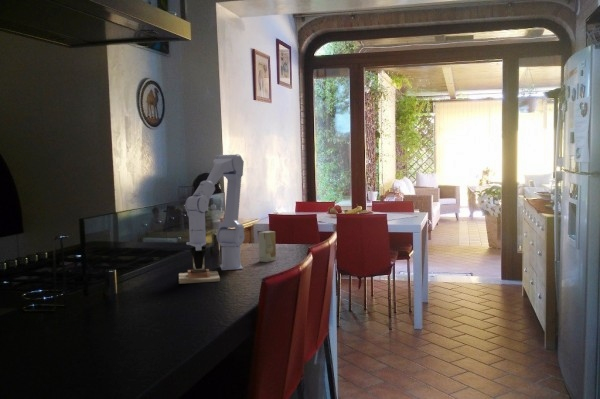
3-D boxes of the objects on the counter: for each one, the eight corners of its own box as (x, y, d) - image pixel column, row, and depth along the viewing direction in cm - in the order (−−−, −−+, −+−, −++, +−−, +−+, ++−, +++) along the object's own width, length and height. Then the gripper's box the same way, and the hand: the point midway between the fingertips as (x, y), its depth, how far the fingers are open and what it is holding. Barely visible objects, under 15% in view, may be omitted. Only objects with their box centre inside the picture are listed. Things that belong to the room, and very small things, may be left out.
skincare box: (266, 262, 238) (265, 232, 237) (258, 261, 240) (257, 232, 240) (276, 260, 243) (275, 231, 242) (268, 259, 246) (267, 230, 245)
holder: (178, 275, 214) (178, 269, 214) (217, 273, 217) (217, 266, 217) (179, 283, 200) (178, 276, 200) (220, 281, 203) (219, 274, 203)
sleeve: (193, 272, 210) (192, 252, 210) (204, 271, 211) (204, 252, 210) (193, 274, 206) (192, 254, 206) (204, 273, 207) (204, 254, 206)
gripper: (185, 227, 214) (186, 264, 215) (186, 232, 199) (187, 272, 200) (205, 227, 215) (206, 263, 216) (207, 231, 201) (208, 270, 202)
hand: (198, 267), depth 208 cm, fingers closed on sleeve, 4 cm apart
